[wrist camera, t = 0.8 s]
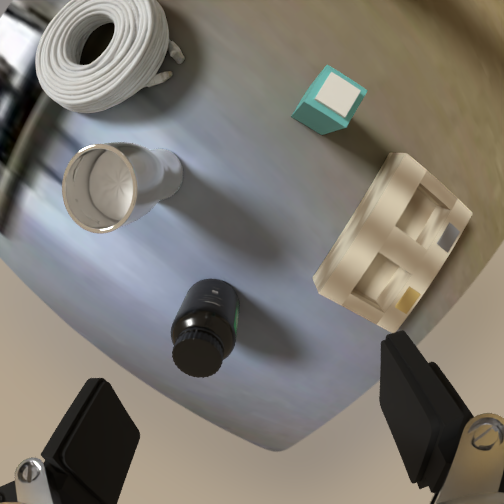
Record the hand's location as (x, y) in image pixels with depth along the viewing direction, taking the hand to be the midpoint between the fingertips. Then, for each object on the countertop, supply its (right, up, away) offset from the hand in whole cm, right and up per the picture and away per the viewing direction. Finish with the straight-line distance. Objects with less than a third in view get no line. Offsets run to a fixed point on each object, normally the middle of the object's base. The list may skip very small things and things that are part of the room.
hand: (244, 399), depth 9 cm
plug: (+7, +20, +22) cm, 31 cm away
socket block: (+17, +6, +27) cm, 32 cm away
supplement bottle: (-5, -2, +30) cm, 30 cm away
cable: (-18, +30, +20) cm, 40 cm away
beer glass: (-11, +14, +25) cm, 30 cm away
